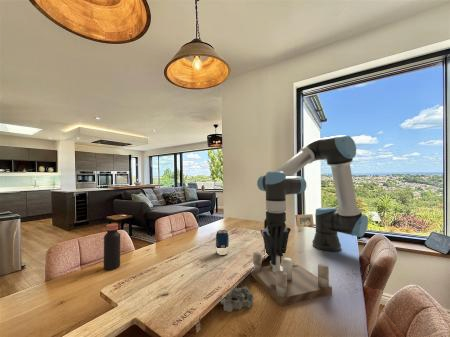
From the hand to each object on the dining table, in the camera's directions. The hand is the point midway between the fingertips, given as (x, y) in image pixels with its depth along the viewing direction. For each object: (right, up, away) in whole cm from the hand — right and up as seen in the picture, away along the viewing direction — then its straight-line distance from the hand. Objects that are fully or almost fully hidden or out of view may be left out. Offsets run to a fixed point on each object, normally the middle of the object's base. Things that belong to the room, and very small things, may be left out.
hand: (276, 272), depth 79 cm
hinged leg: (+3, -3, +6) cm, 8 cm away
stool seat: (+5, -6, +3) cm, 8 cm away
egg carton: (-16, -6, -9) cm, 20 cm away
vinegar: (-73, -7, +17) cm, 75 cm away
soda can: (-21, -7, +33) cm, 40 cm away
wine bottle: (+4, -6, +26) cm, 27 cm away
